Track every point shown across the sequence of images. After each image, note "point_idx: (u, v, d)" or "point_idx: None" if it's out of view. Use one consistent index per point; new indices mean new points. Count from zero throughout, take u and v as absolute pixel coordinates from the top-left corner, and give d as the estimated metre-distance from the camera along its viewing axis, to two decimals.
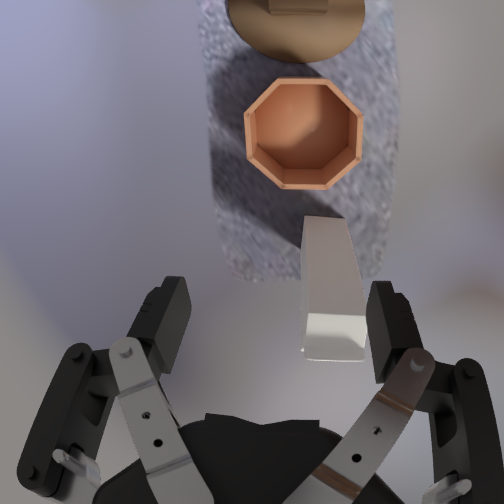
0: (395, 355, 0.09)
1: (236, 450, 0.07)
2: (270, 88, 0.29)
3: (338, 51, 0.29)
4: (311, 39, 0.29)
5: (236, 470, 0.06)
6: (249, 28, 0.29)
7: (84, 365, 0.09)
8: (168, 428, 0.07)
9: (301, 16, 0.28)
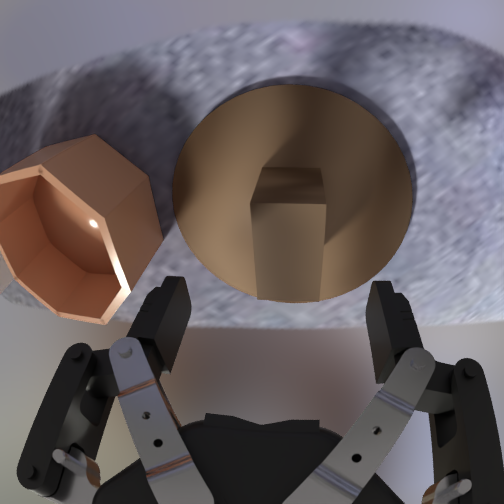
0: (395, 355, 0.09)
1: (236, 450, 0.07)
2: (86, 207, 0.15)
3: (206, 264, 0.23)
4: (219, 229, 0.21)
5: (236, 470, 0.06)
6: (233, 125, 0.17)
7: (84, 365, 0.09)
8: (168, 428, 0.07)
9: None
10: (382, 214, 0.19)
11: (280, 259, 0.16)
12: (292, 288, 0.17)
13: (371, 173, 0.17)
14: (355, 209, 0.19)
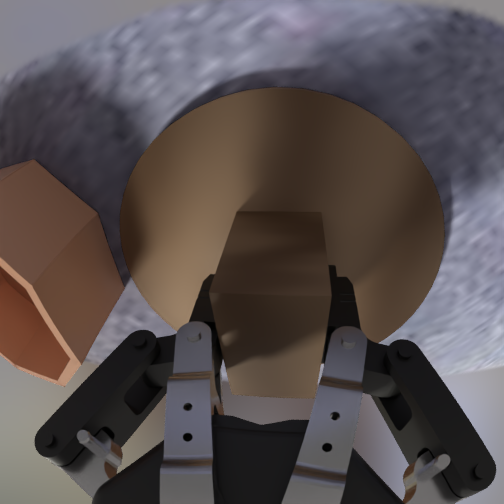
0: (329, 333, 0.10)
1: (236, 450, 0.07)
2: (10, 269, 0.10)
3: (173, 325, 0.18)
4: (185, 288, 0.16)
5: (236, 470, 0.06)
6: (193, 151, 0.12)
7: (150, 352, 0.09)
8: (203, 426, 0.07)
9: None
10: (403, 270, 0.14)
11: (260, 359, 0.11)
12: (278, 386, 0.12)
13: (392, 218, 0.12)
14: (367, 266, 0.14)
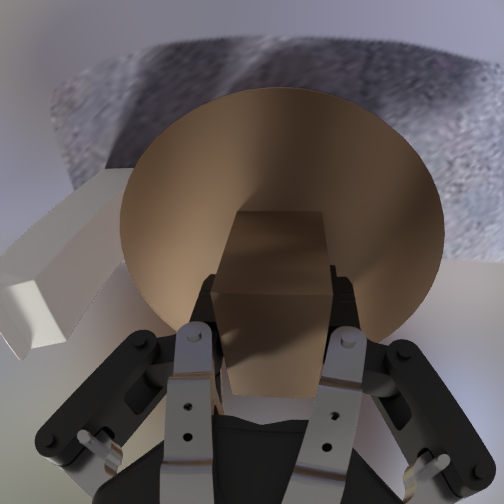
0: (329, 333, 0.10)
1: (236, 450, 0.07)
2: None
3: (173, 325, 0.18)
4: (185, 288, 0.16)
5: (237, 470, 0.06)
6: (193, 151, 0.12)
7: (150, 352, 0.09)
8: (204, 426, 0.07)
9: None
10: (403, 269, 0.14)
11: (261, 358, 0.11)
12: (279, 386, 0.12)
13: (393, 218, 0.12)
14: (367, 265, 0.14)
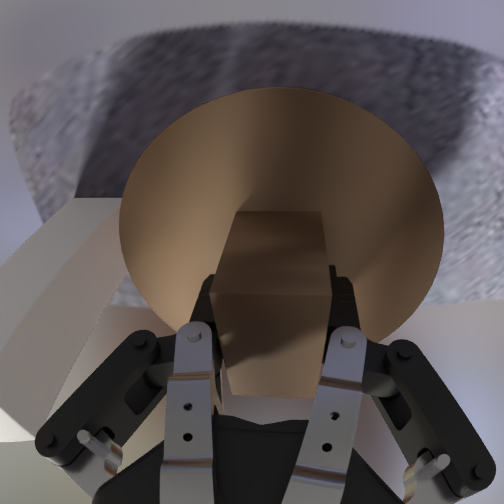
0: (329, 333, 0.10)
1: (236, 450, 0.07)
2: None
3: (172, 325, 0.18)
4: (184, 288, 0.16)
5: (237, 470, 0.06)
6: (192, 151, 0.12)
7: (150, 352, 0.09)
8: (204, 426, 0.07)
9: None
10: (402, 269, 0.14)
11: (260, 358, 0.11)
12: (278, 386, 0.12)
13: (392, 218, 0.12)
14: (367, 265, 0.14)
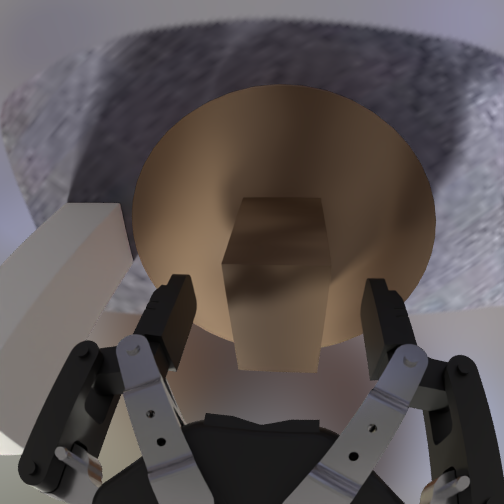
0: (388, 352, 0.09)
1: (236, 450, 0.07)
2: None
3: None
4: (193, 272, 0.17)
5: (236, 470, 0.06)
6: (204, 142, 0.13)
7: (91, 363, 0.09)
8: (172, 427, 0.07)
9: None
10: (397, 253, 0.15)
11: (266, 330, 0.12)
12: (282, 360, 0.13)
13: (386, 204, 0.13)
14: (364, 249, 0.15)
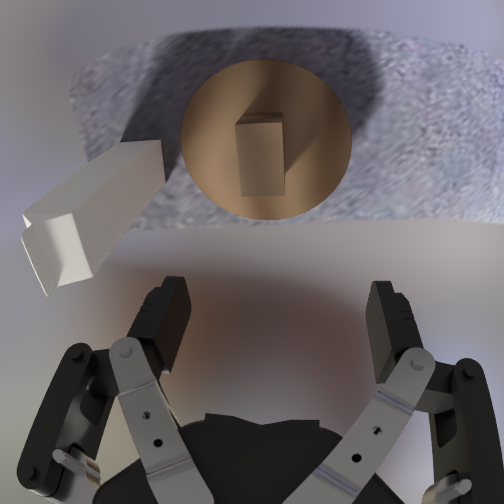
0: (395, 355, 0.09)
1: (236, 450, 0.07)
2: None
3: (203, 190, 0.31)
4: (214, 160, 0.29)
5: (236, 470, 0.06)
6: (223, 86, 0.24)
7: (84, 365, 0.09)
8: (168, 428, 0.07)
9: None
10: (330, 143, 0.27)
11: (255, 162, 0.23)
12: (265, 185, 0.24)
13: (318, 114, 0.25)
14: (310, 140, 0.27)
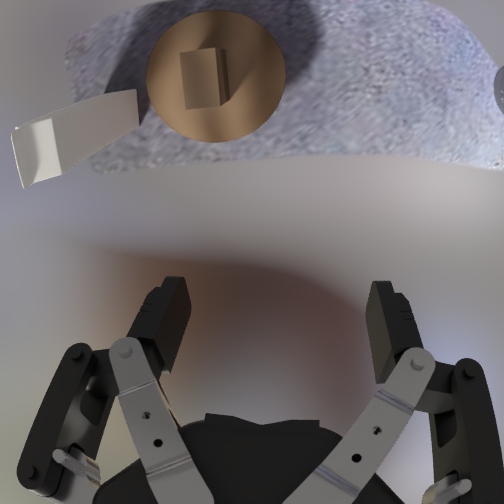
0: (395, 355, 0.09)
1: (236, 450, 0.07)
2: None
3: (164, 119, 0.33)
4: (172, 93, 0.31)
5: (237, 470, 0.06)
6: (179, 33, 0.27)
7: (84, 365, 0.09)
8: (168, 428, 0.07)
9: None
10: (266, 71, 0.29)
11: (195, 80, 0.26)
12: (204, 98, 0.27)
13: (255, 48, 0.28)
14: (249, 70, 0.29)
